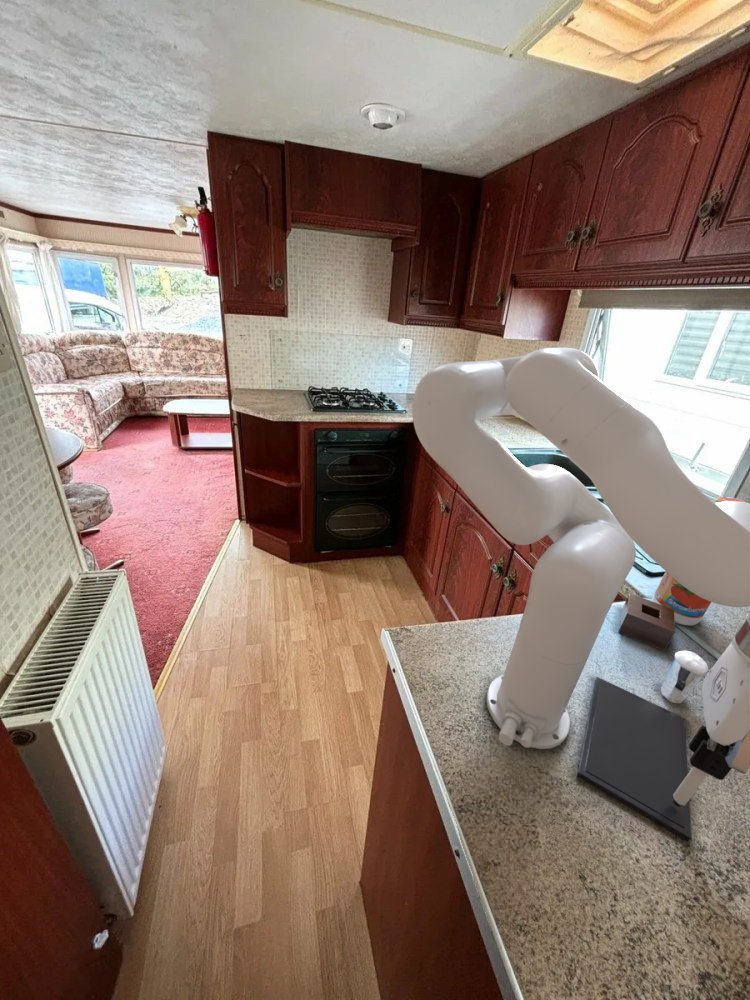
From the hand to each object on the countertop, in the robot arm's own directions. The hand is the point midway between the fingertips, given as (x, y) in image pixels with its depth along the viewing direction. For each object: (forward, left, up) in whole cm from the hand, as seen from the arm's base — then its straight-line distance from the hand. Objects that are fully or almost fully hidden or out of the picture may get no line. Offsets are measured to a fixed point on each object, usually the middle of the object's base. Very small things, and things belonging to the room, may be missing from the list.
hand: (704, 762), depth 48 cm
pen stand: (+38, +5, -10) cm, 40 cm away
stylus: (0, 0, -9) cm, 9 cm away
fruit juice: (+50, -1, -11) cm, 51 cm away
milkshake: (+22, -1, -11) cm, 24 cm away
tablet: (+7, +5, -10) cm, 13 cm away
